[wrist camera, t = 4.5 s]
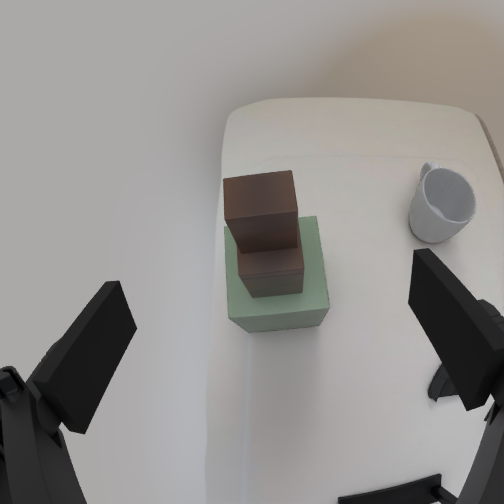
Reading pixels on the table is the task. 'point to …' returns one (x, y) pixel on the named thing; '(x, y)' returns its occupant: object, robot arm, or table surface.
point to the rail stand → (406, 494)
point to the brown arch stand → (265, 232)
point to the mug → (441, 204)
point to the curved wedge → (441, 385)
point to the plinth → (284, 306)
